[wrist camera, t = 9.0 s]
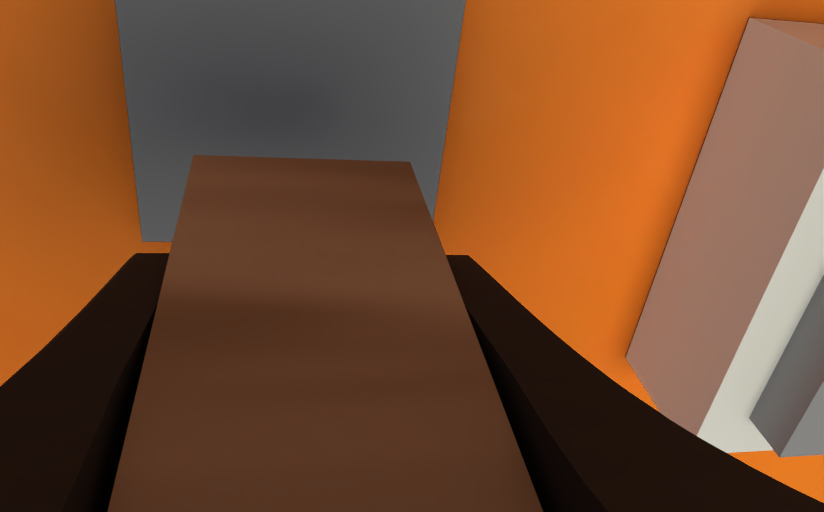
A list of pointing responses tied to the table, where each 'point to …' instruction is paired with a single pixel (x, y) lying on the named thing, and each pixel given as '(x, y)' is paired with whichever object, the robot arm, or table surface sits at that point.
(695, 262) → the button base
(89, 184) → the table surface
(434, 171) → the rubber pad
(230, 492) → the walnut peg
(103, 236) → the table surface
